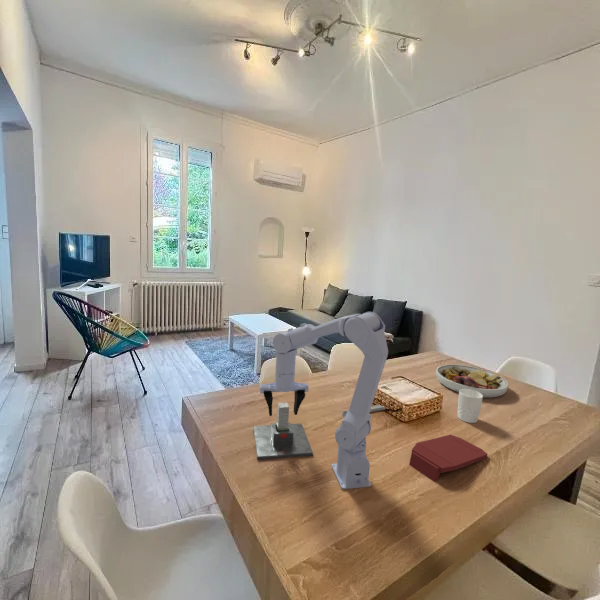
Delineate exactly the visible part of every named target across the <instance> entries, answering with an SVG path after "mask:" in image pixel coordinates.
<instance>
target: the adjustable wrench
mask: <svg viewBox="0 0 600 600" xmlns="http://www.w3.org/2000/svg"><path fill="white" fill-rule="evenodd" d="M348 411H349V409H346V410H343V411H341V416H342V417H345V416H346V414H347V412H348ZM380 411H386V410H385V407H384V406H381V405H380V403H379V404H376V405H372V406H371V410H370V413H374V412H380Z"/></svg>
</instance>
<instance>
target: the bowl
mask: <svg viewBox="0 0 600 600" xmlns="http://www.w3.org/2000/svg"><path fill="white" fill-rule="evenodd" d="M435 377H436V378H437V381H439V382H440V383H441V384H442V386H445V387H446V388H448V389H450V390H452V391H454V392H456V393H459V390H461V389H470V390H474V391H477V392H479V393H481V394H482V395H483V398H498V397H500V396H502V395H504V394H505V393H506V392H507V391H508V388H509V382H508V380H506V378H503V377H502V376H501V375H499V374H496V373H495V372H491V371H489V370H486V369H484V368H483V369H482V368H479V367H475V366H474V367H473V366H470V365H463V364H444V365H440V366H438V367H437V368H436V370H435Z"/></svg>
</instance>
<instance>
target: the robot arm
mask: <svg viewBox="0 0 600 600" xmlns="http://www.w3.org/2000/svg"><path fill="white" fill-rule="evenodd" d="M385 330H386V324H385V323H384V321H383V320H382V319H381V317H380V316H379V315H378V314H377V313H376V312H373V311H366V312H363V313H362V314H361V313H356V314H355V313H354V314H350V315H344V316H341V317H338V318H335V319H332V320H330V321H327V322H324V323H322V324H319V325H316V326H315V325H314V324H311V323H308V324H307V323H306V322H304V323H301V324H300V325H299V326H298V327H296V328H292V327H291V328H287V331H284V332H278V333H277V334H276V335H274V337H273V339H272V346H273V349H274V350H275V351H276V357H275V358H276V359H275V374H274V375H275V376H274V377H275V379H274V382H271V383H270V382H269V383H265V384H259V393H260V394H263V397H264V399H265V401H266V404H267V408H268V409H267V410H268V415H269V417H272V416H273V399H274V397H273V393H279V392H280V393H281V392H282V393H289V392H293V393H294V403H293V414H294V415H295V416H296V415H298V411H299V409H300V406H301V404H302V403H303V400H304V399H305V398H306V393H309V389H310V386H309V384H308V383H307V382H306V383H305V382H295V375H296V374H295V373H296V361H297V360H296V359H297V358H296V357H297V352H298V349H301V348H305V347H309V346H311V345H315V344H316V343H317V342H318V340H319V338H321V337H327V336H328V335H329V336H330V335H333V334H337V333H339V334H340V335H341V336H342V337H345V336H346V337H347V338H348V340H349V341H350V342H351V343H352V344H353V345H354V346H356V347H357V348H358V349H359V350H360V351H361V353H362V354H363V355H364V358H363V361H362V363H361V364H362V365H361V369H360V371H359V375H358V376H357V378H358V379H357V380H356V384H355V385H356V386H355V388H354V391H353V395H352V398H351V401H350V405H349V407H348V410H349V411H348V412H347V414H346V416H345V417H344V416H343V417H344V418H343V419H342V422H341V423H340V425H339V426H338V427H337V428H336V429H335V432H334V439H335V442H336V444H337V446H338V447H337V458H336V463H332V464H331V468H332V471H333V472H334V475H335V477H336V479H337V482H338V483H339V486H340V488H341V490H348V489H349V490H350V489H357V488H358V489H359V488H370V487H371V486H372V483H371V482H370V481H371V480H369V477H370V468H371V465H370V462H369V459H368V457H367V451H366V450H367V436H369V435H370V433H371V430H372V425H371V418H372V414H371V412H370V410H371V406H373V402H374V399H375V396H376V393H377V390H378V387H379V384H380V381H381V378H382V374H383V372H384V368H385V364H386V362H387V358H388V356H389V348H388V347H389V346H388V343H387V338H386V333H385Z"/></svg>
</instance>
